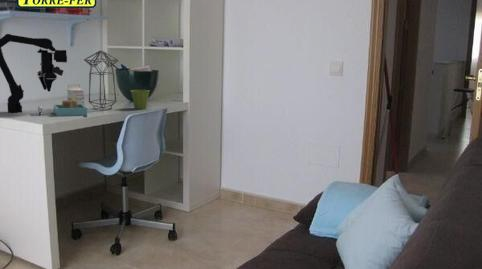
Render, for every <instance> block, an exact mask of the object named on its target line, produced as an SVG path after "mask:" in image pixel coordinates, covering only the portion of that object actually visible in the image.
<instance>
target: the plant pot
mask: <svg viewBox="0 0 482 269" xmlns="http://www.w3.org/2000/svg"><path fill="white" fill-rule="evenodd" d="M130 92H131V97H132V100H133V107H134V109H135V110H145V109H147V106H148V100H149V94H150V90H148V89H132V90H130Z"/></svg>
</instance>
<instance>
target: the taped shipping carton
mask: <svg viewBox="0 0 482 269" xmlns="http://www.w3.org/2000/svg"><path fill="white" fill-rule="evenodd" d="M61 103H62V104H61V105H62V108H77V101H75V100H68V99H66V100H62V101H61Z"/></svg>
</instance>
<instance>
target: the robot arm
mask: <svg viewBox="0 0 482 269" xmlns="http://www.w3.org/2000/svg"><path fill="white" fill-rule="evenodd" d="M10 42H11V43H17V44H18V43H19V44H24V45H31V46H35V47H39V50H37V53H38V54H40V64H39V65H40V70H38V71H37V73H36V74H37V77H38V79H39V81H40V84H41V86H42V89H43V90H45V91H46V90H47V92H51V89H52V85H53V82H55V81H56V80H57V78H58V76H61V77H62V76H63V74H64V70H63V69H60V67H59V66H55V65H54V63H53V61H55V63H68V55H67V50H66V49H56V48H55V47H54V45H53V41H52V40H51V39H50V38H45V37H44V38H43V37H41V38H40V37H39V38H38V37H36V38H35V37H34V38H33V37H28V36H23V35H22V36H20V35H16V34H11V33H5V34H4V36H3V37H1V38H0V70H1V72H2V74H3V76H4V78H5V80H6V82H7V85H8V87H9V93H10V95H9V96H8V98H7V114H18V113H23V106H22V104H21V102H20V101H21V100H22V99H23V98H24V93H25V90H24V89H23V88H22V87H23V86H22V85H21V83H20V84H18V83H17V81H16V80H15V78H14V76H13V73H12V72H11V70H10V67H9V66H8V63H7V62H6V59H5V57H4V52H3V49H2V48H3V47H4V46H5V45H7V44H8V43H10Z"/></svg>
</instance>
